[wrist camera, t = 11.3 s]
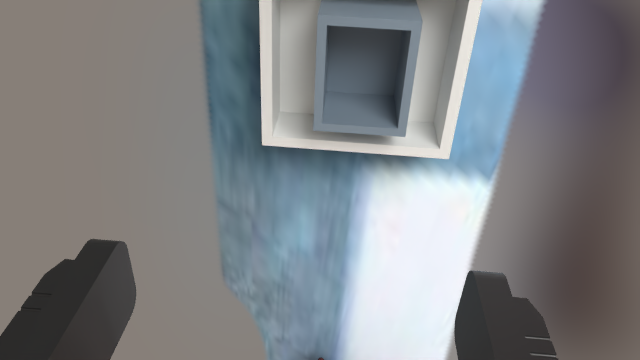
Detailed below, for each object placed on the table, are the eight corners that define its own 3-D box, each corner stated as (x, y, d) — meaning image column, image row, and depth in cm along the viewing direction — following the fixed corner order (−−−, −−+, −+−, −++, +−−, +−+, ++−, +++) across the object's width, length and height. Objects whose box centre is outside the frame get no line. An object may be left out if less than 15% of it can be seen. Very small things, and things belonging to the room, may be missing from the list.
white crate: (270, -53, 36) (258, -39, 32) (473, -41, 36) (487, -24, 32) (271, 115, 44) (261, 145, 39) (440, 127, 43) (448, 159, 39)
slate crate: (323, -10, 37) (317, 14, 32) (414, -5, 37) (422, 21, 32) (319, 94, 41) (313, 130, 36) (400, 100, 41) (405, 137, 36)
